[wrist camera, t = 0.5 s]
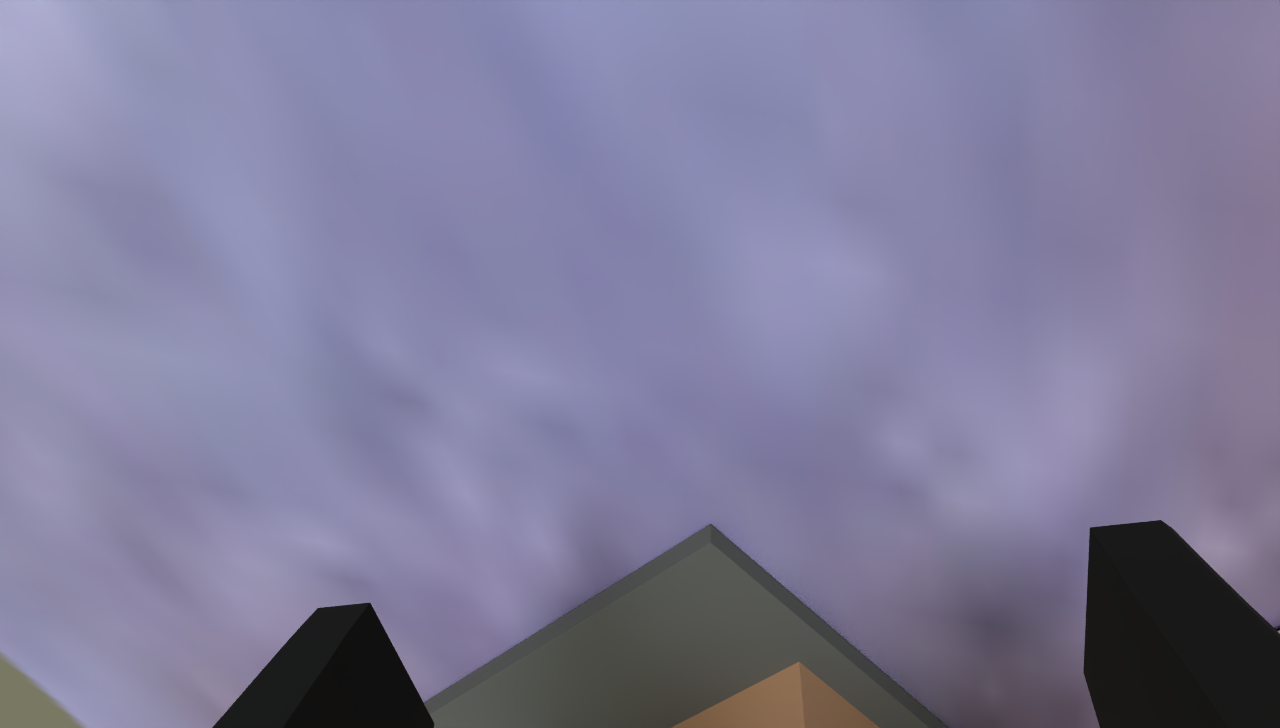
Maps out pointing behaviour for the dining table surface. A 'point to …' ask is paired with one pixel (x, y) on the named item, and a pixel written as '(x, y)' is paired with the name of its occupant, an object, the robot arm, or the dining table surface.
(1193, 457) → the dining table surface
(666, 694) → the mat
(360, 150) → the dining table surface
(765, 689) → the cube
